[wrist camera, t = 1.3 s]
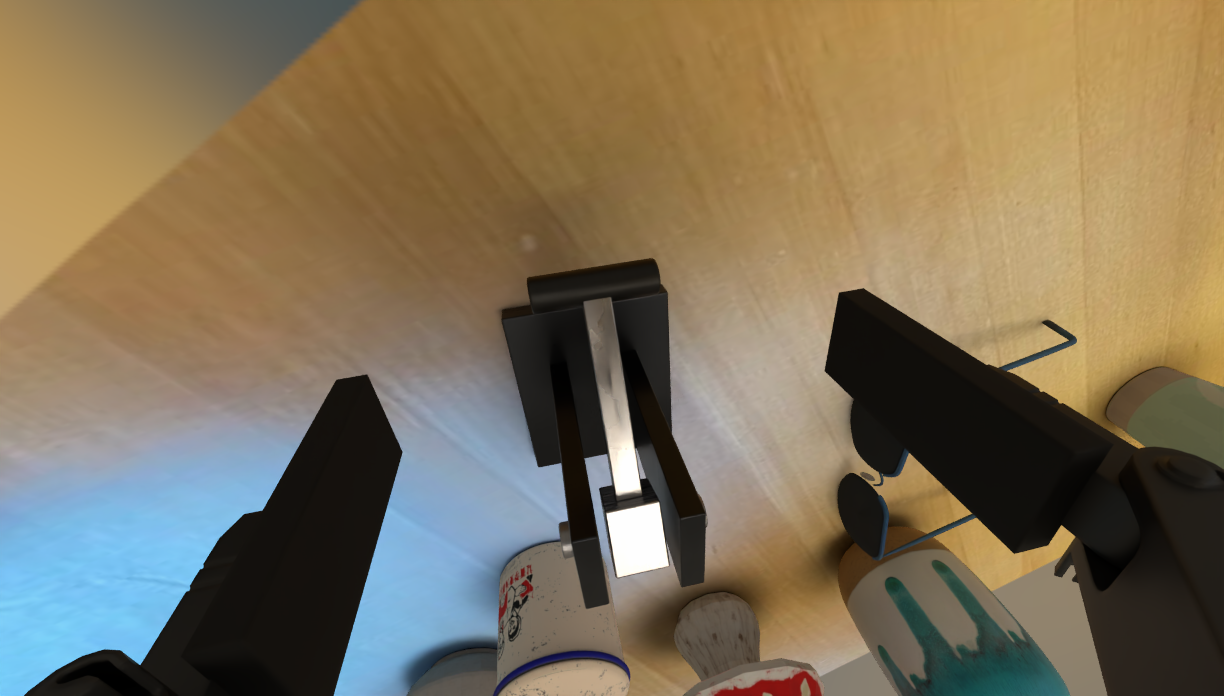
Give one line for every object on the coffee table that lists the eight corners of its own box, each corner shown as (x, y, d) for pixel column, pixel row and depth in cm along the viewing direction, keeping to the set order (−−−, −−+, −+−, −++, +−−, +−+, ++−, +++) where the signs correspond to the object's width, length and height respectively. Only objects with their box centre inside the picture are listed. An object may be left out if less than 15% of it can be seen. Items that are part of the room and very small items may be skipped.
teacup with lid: (506, 534, 34) (504, 721, 25) (621, 538, 37) (660, 707, 27) (483, 627, 40) (473, 809, 30) (585, 624, 43) (606, 790, 33)
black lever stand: (501, 309, 25) (492, 490, 14) (662, 283, 26) (766, 435, 15) (537, 455, 31) (549, 662, 20) (667, 429, 32) (745, 614, 21)
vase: (927, 547, 47) (1146, 802, 30) (830, 591, 48) (991, 860, 32) (917, 488, 41) (1179, 762, 25) (807, 540, 42) (989, 834, 26)
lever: (528, 278, 19) (524, 276, 17) (647, 260, 19) (660, 255, 17) (577, 553, 20) (580, 587, 18) (687, 529, 21) (704, 559, 19)
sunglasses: (856, 364, 32) (918, 406, 28) (1023, 305, 35) (1101, 336, 30) (831, 521, 41) (874, 571, 37) (964, 466, 44) (1018, 506, 40)
